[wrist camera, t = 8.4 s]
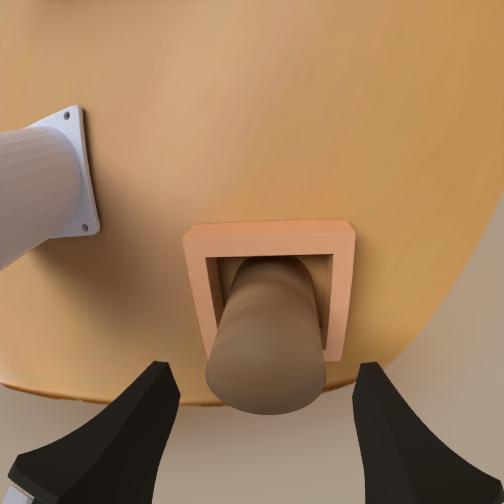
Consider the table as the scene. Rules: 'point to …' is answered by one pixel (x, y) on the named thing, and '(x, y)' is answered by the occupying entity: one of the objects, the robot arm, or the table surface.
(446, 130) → the table surface
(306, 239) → the square collar
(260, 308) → the walnut peg
